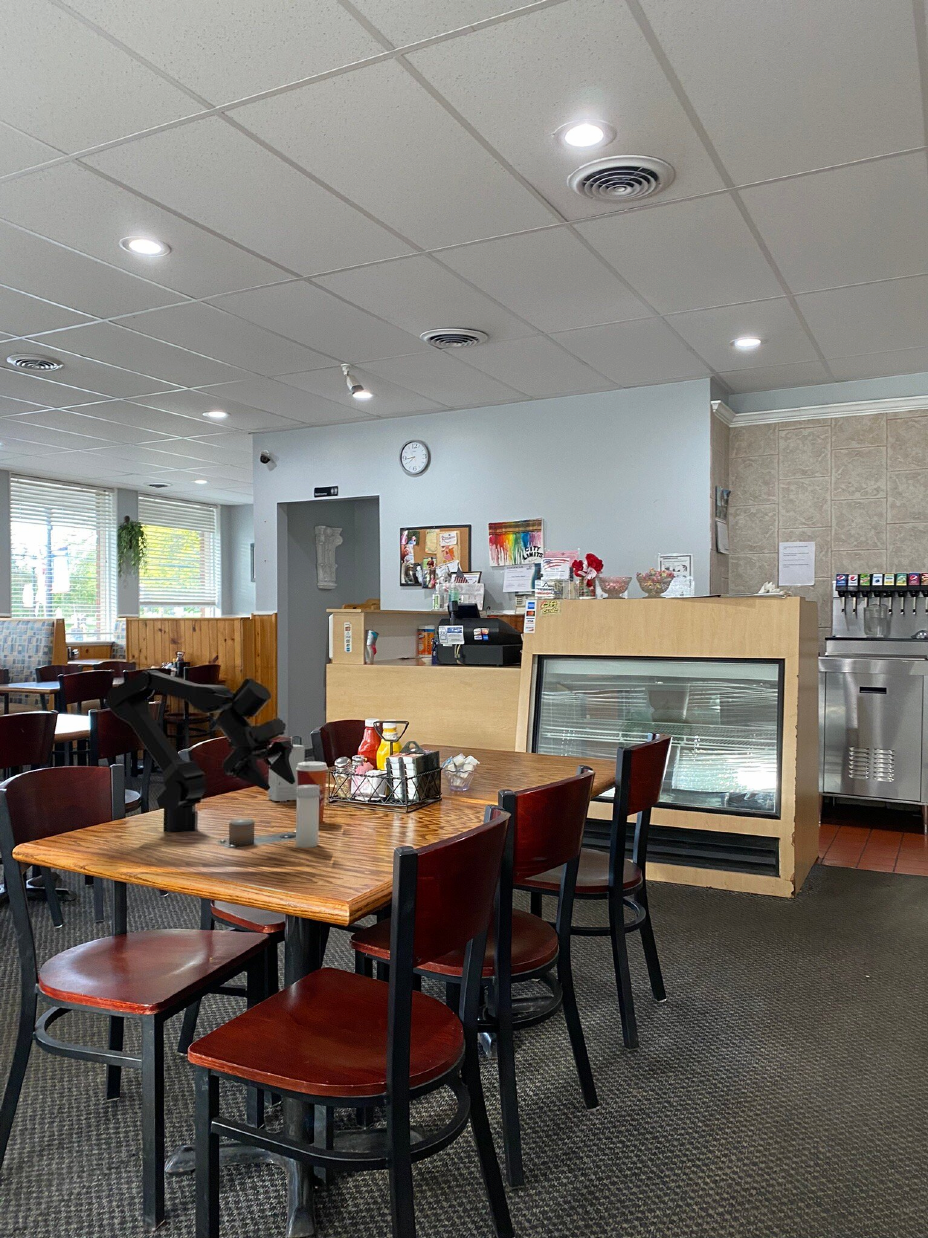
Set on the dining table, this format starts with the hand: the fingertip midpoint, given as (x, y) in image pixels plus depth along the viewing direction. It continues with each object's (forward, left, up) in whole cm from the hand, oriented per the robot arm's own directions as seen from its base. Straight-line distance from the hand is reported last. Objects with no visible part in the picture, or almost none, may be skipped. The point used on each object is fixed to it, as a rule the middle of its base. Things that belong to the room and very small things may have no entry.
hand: (281, 786), depth 190 cm
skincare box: (-6, +55, -13) cm, 57 cm away
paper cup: (+4, +25, -13) cm, 28 cm away
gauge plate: (-4, +2, -13) cm, 13 cm away
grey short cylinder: (-8, 0, -12) cm, 14 cm away
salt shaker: (+6, -3, -13) cm, 14 cm away
